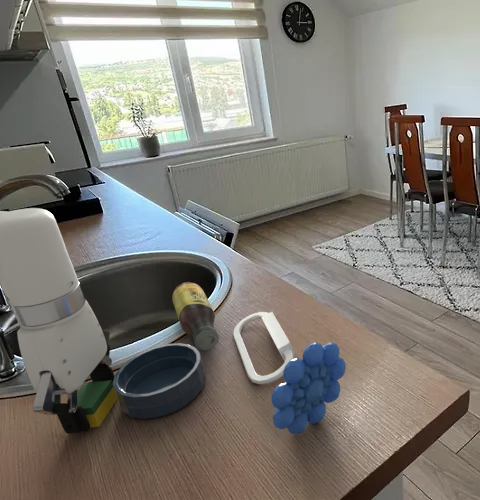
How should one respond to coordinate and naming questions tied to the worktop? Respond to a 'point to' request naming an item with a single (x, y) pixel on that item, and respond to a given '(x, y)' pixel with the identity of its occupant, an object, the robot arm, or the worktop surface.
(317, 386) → the blue flower ornament
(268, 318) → the oval loop handle
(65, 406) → the robot arm
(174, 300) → the sauce bottle
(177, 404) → the bowl
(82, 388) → the sponge
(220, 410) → the worktop surface
